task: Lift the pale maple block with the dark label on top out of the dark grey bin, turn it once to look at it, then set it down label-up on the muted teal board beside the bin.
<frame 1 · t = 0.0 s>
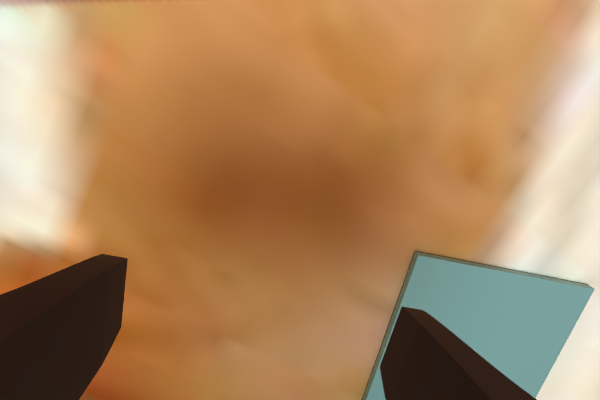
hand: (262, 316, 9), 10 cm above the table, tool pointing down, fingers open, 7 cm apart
teal board: (469, 345, 23), on the table
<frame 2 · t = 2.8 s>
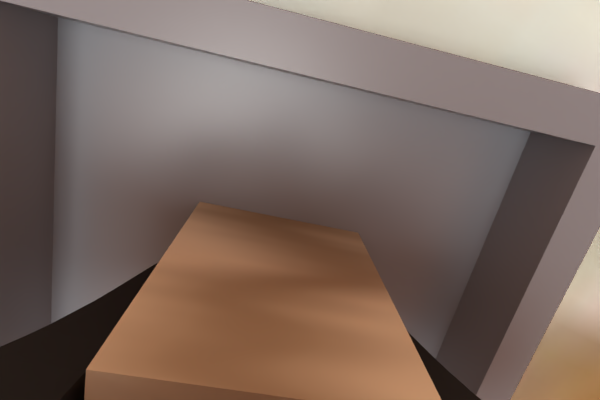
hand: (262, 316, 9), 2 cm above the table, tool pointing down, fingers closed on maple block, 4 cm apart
maple block: (265, 286, 11), resting on parts bin, touching gripper
parts bin: (265, 279, 11), on the table
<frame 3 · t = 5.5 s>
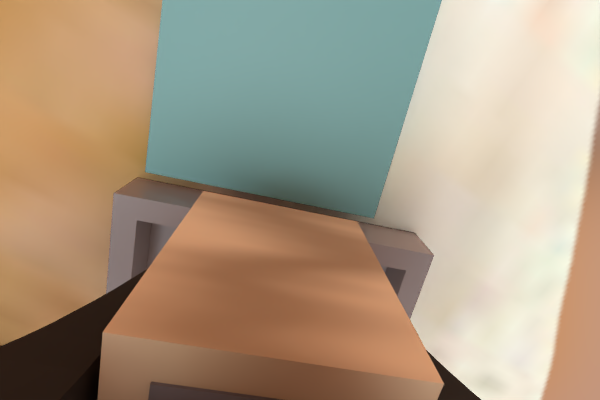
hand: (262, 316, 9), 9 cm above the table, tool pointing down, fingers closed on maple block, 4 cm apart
maple block: (266, 274, 11), point 7 cm above the table, touching gripper
parts bin: (255, 323, 20), on the table
teal board: (288, 76, 16), on the table
when the fingers open (3 cm above the table, at t = 8.4 s): maple block stays where it is, resting on teal board.
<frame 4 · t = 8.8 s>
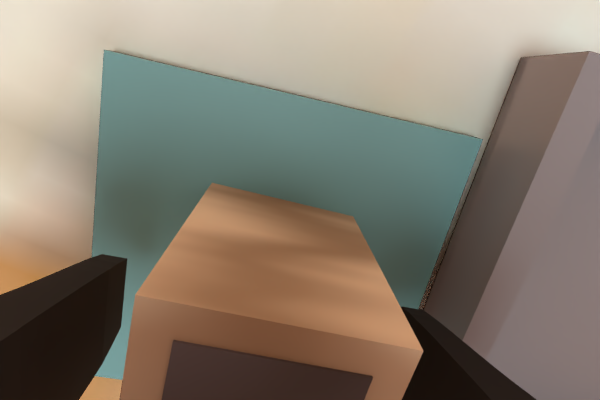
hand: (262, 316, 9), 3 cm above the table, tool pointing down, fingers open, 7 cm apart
maple block: (267, 263, 12), resting on teal board
teal board: (267, 259, 12), on the table
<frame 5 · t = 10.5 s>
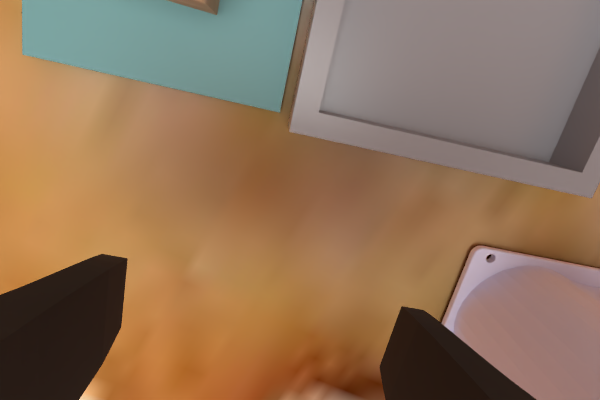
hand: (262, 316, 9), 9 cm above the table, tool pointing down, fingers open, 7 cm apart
parts bin: (477, 0, 16), on the table
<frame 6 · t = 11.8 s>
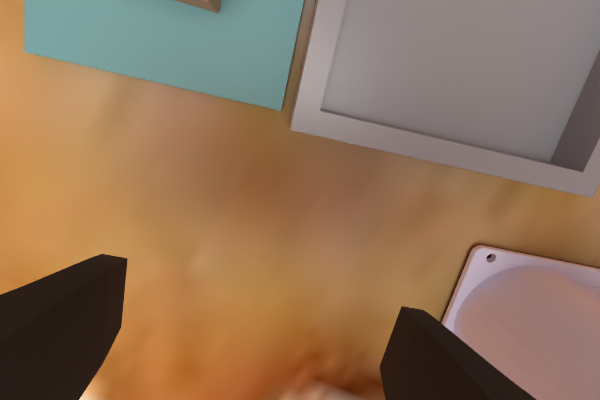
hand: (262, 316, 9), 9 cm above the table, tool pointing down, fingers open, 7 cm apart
parts bin: (479, 0, 16), on the table
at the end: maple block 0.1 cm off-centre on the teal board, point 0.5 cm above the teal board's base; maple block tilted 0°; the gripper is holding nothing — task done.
